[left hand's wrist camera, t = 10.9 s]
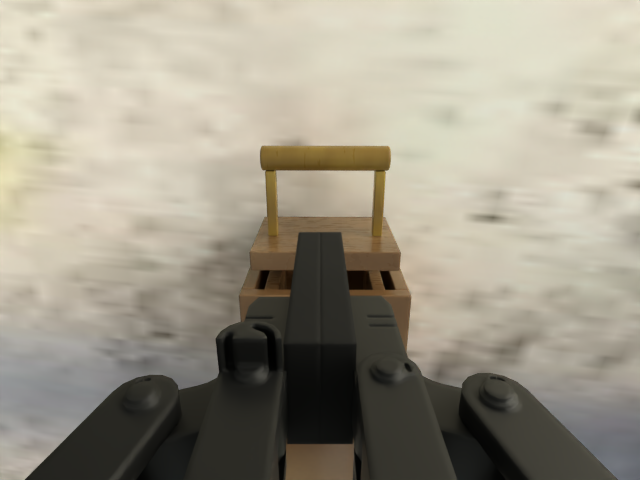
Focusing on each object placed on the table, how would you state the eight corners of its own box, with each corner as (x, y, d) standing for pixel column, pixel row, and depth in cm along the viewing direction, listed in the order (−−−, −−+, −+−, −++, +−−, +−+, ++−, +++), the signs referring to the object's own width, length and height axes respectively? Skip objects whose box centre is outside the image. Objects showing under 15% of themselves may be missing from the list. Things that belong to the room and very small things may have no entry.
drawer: (260, 137, 28) (242, 154, 22) (390, 137, 28) (408, 154, 22) (274, 425, 37) (265, 494, 31) (372, 426, 37) (382, 494, 31)
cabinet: (259, 241, 31) (238, 295, 24) (390, 242, 31) (411, 296, 24) (271, 446, 39) (257, 537, 31) (376, 446, 39) (389, 539, 31)
